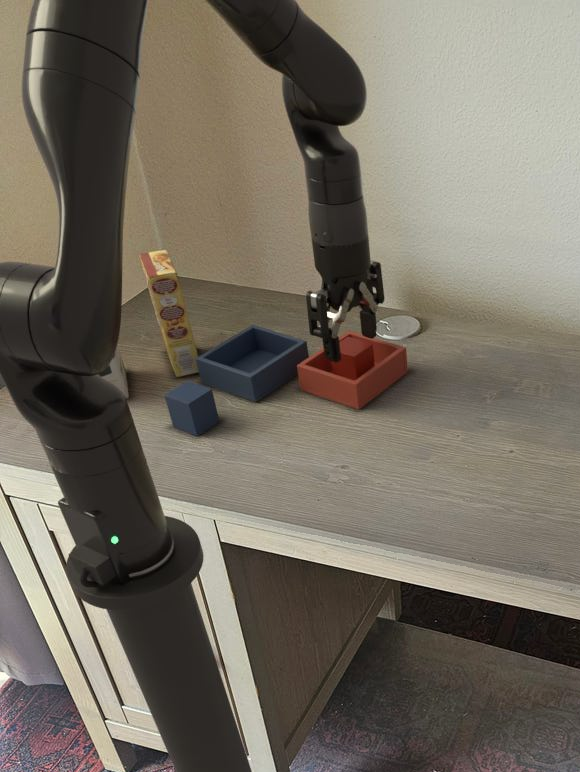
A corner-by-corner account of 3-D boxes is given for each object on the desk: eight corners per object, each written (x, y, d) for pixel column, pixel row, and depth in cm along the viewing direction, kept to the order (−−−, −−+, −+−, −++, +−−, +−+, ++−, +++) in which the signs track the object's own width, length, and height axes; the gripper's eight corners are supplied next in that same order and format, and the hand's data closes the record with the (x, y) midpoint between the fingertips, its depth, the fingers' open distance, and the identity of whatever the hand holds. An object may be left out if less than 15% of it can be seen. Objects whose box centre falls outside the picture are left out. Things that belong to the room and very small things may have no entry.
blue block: (197, 436, 118) (188, 403, 115) (173, 427, 120) (163, 394, 116) (219, 421, 121) (211, 389, 117) (196, 412, 123) (187, 380, 119)
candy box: (203, 373, 130) (178, 271, 119) (175, 378, 129) (147, 276, 118) (192, 347, 136) (167, 248, 125) (165, 352, 135) (137, 253, 124)
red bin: (358, 409, 123) (356, 384, 120) (300, 390, 127) (296, 365, 124) (407, 372, 131) (406, 347, 128) (351, 354, 135) (348, 330, 132)
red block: (358, 388, 126) (354, 356, 123) (333, 380, 128) (329, 348, 124) (375, 375, 129) (372, 343, 126) (351, 367, 131) (348, 336, 127)
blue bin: (255, 402, 125) (250, 377, 122) (201, 383, 128) (195, 358, 125) (310, 365, 132) (306, 340, 129) (257, 348, 136) (252, 324, 133)
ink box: (93, 375, 130) (66, 299, 121) (127, 370, 131) (103, 294, 122) (93, 404, 124) (66, 326, 116) (129, 398, 125) (104, 320, 117)
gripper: (349, 210, 119) (360, 323, 130) (282, 244, 110) (300, 362, 122) (393, 220, 116) (401, 335, 128) (328, 256, 108) (342, 375, 119)
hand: (351, 348), depth 125 cm, fingers open, 8 cm apart
